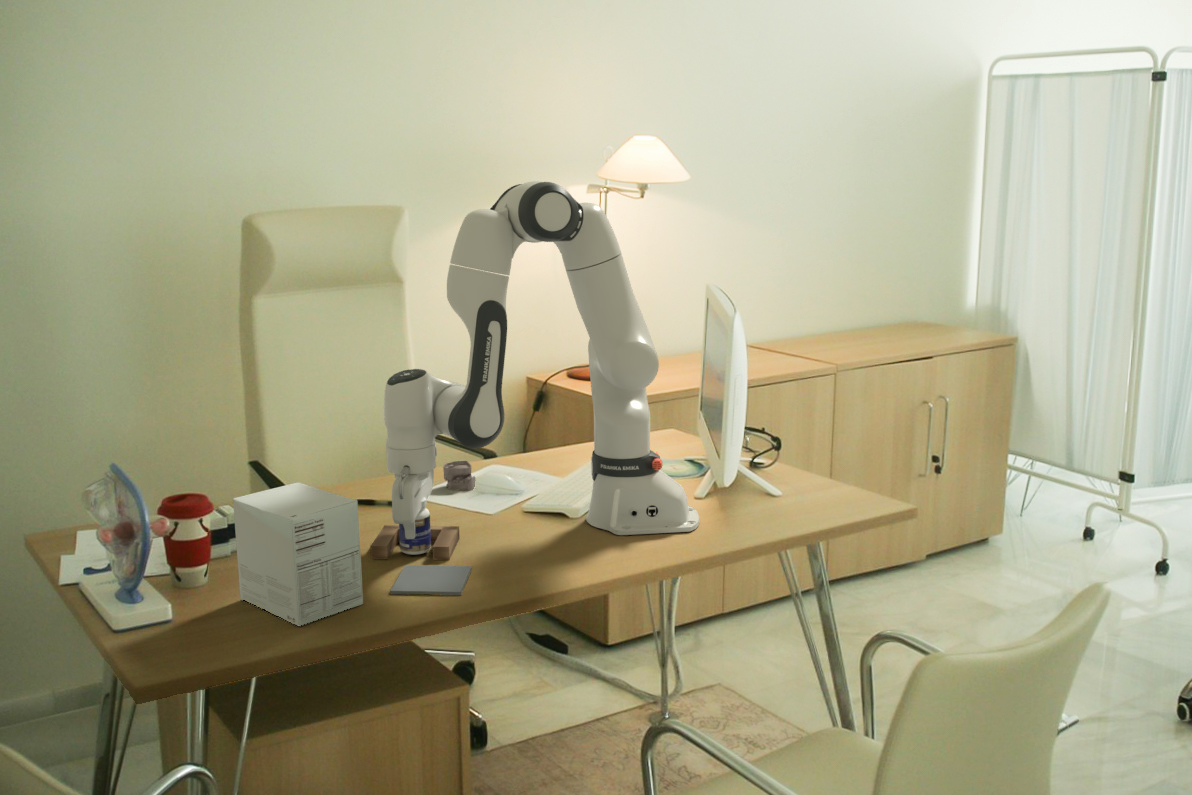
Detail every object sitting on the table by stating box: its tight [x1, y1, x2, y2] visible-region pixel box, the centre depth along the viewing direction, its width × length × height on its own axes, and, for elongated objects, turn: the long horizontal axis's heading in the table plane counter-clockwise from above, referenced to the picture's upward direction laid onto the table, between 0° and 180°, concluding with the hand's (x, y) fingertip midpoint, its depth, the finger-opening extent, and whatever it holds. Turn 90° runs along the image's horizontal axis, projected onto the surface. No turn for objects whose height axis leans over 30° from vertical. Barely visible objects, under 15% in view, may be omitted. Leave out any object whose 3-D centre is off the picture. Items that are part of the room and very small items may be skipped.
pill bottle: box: [398, 497, 432, 556], centre depth 218 cm, size 6×6×10 cm
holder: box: [370, 524, 461, 561], centre depth 222 cm, size 14×12×2 cm
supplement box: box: [232, 481, 364, 626], centre depth 195 cm, size 17×13×18 cm
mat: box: [390, 564, 473, 596], centre depth 206 cm, size 12×12×1 cm
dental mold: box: [442, 460, 477, 492], centre depth 260 cm, size 8×7×5 cm
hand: (414, 531), depth 219 cm, fingers closed on pill bottle, 6 cm apart
